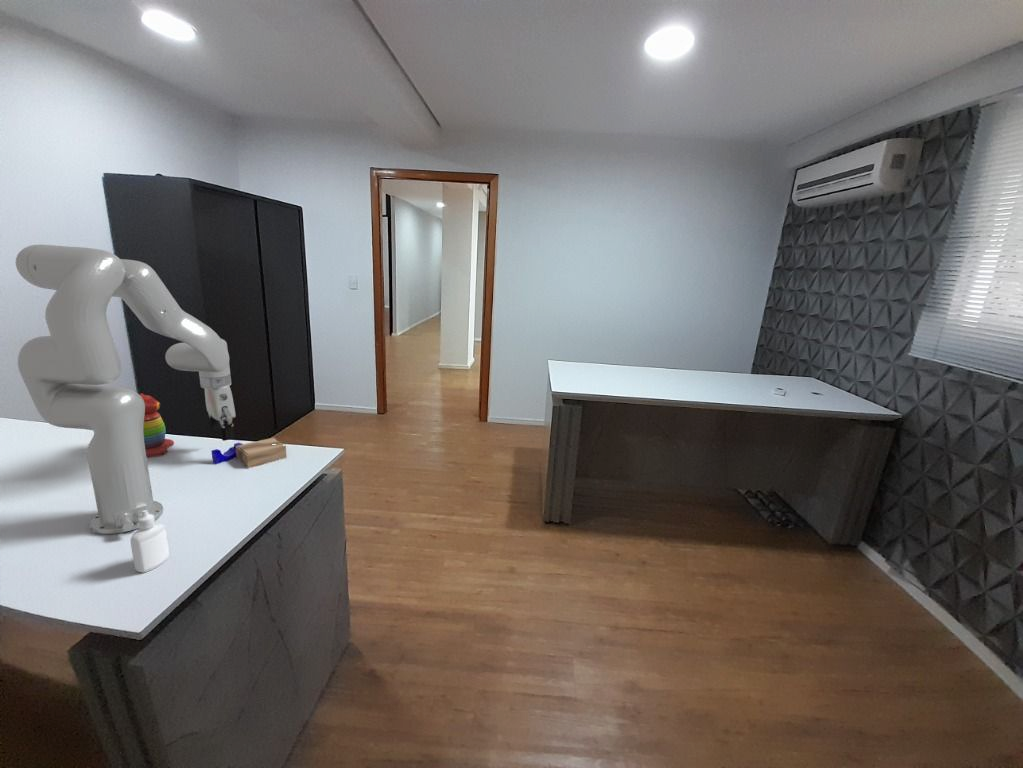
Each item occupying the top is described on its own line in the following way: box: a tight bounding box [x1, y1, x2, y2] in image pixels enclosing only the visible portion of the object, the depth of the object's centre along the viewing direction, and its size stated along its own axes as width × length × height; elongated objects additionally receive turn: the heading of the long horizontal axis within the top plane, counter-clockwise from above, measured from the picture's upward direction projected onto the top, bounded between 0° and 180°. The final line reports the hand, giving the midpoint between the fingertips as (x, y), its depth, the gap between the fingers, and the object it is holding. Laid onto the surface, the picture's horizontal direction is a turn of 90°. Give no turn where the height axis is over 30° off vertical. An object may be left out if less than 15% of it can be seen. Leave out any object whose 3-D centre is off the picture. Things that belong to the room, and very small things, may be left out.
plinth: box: [235, 437, 287, 469], centre depth 133 cm, size 9×11×4 cm
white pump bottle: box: [130, 510, 171, 574], centre depth 85 cm, size 4×6×12 cm
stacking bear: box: [139, 393, 175, 458], centre depth 131 cm, size 11×10×18 cm
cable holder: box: [211, 442, 243, 465], centre depth 132 cm, size 8×4×4 cm, turn 151°
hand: (222, 434), depth 132 cm, fingers open, 9 cm apart
